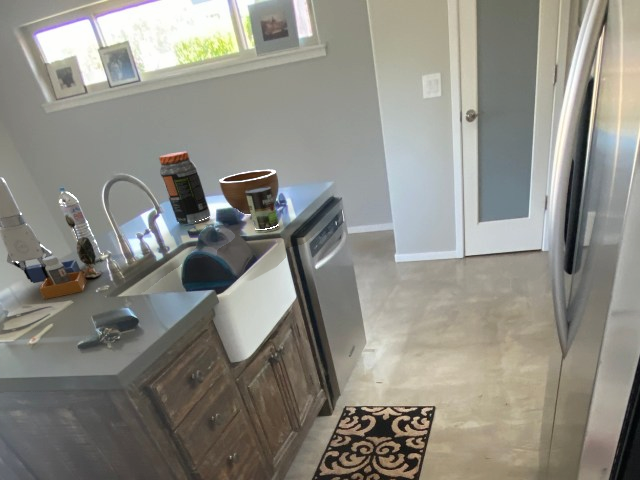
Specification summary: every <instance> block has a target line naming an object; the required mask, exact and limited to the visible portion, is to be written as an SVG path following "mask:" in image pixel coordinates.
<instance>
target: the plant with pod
mask: <svg viewBox="0 0 640 480" xmlns="http://www.w3.org/2000/svg"><path fill="white" fill-rule="evenodd" d="M65 217H66V219H65V221H66V224H67V225H68V227H69V226H70V227H71V229H72V227H73V229H74V231H75V228H74V226H75V222H74V220H73V218H72V217H71V216H69V215H66V216H65ZM65 217H64V218H65ZM75 233H76V231H75ZM76 236H77V233H76ZM77 239H78V236H77ZM76 254H77V257H78V258H79V260H80V262H82V263H83V264H86V267H87V268H86V269H82V270H81V271H82V273H83V275H84V277H85V278H96V277H99V276H100V275H102V274H103V271H102V270H99V271H96V270H95V268H94V266H96V262H95V258H96V256H95V252H94V249H93V246H92V244H91V242H90V240H89V239H88V238H87V237H80V239H78V241H77V243H76Z"/></svg>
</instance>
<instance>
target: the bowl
mask: <svg viewBox="0 0 640 480" xmlns="http://www.w3.org/2000/svg"><path fill="white" fill-rule="evenodd" d="M219 185H220V186H219V187H220V190H221V192H222V195H223V197H224V199H225V200H226V202H227V203H228V205H230V206H231V208H232V209H234V208H236V209H238V210H239V211H240V212H242V213H244V214H251V212H250V208H249V204H248V200H247V196H246V193H245V192H246V191H247V190H250V189H254V188H259V187H271V189H272V195H273V200H274V204H275V203H276V201H277V198H278V196H279V187H280V186H279V178H278V174H277V171H276V170H274V169H261V170H260V169H258V170H252V171H245V172H240V173H236V174H232V175H228V176H225V177H223V178H221V179H219ZM240 212H239V213H240ZM242 213H241V214H242ZM244 214H243V215H244Z"/></svg>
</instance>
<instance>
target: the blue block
mask: <svg viewBox="0 0 640 480" xmlns="http://www.w3.org/2000/svg"><path fill="white" fill-rule="evenodd" d="M26 270H27V272H28V274H29V276H30V278H31V280H32V282H31V283H33V284H37V283H38V284H39V283H43V281H44V280H45V278H46V276H45V274H44V272H43V270H42V266H41V264H40V263H38V264H33V265H28V266H27V269H26Z"/></svg>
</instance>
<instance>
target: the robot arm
mask: <svg viewBox="0 0 640 480" xmlns="http://www.w3.org/2000/svg"><path fill="white" fill-rule="evenodd" d="M0 237H1V240H2V242H3V244H4V247H5V249H6V251H7V257H6V262H7V263H8V264H10V265H12V266H15V267H17V268H18V269H20V270H21V271H23V273H24V274H25V277H26V278H27V280H29V281H30V283H33V282H32V280H31V278H30V276H29V274H28V272H27V270H26V269H27V268H28V266H27V262H28V261H31V260H37V261H38V263H39V264H41V266H42V270H43V272H44V274H45V276H46V278H49V275H48V273H47V271H46V269H45V267H46V265H45V264H44V263H43V261H42V259H44V258H46V257H50V256H53V252H52V251H51V250H50V249H48V248H47V247H45V246H43V245H42V242H41V241H40V239H39V238H38V236H37V234H36V232H35V231H34V229H33V228H32V227H31V225H30V224H29V223H27V222H26V220H25V218H24V216H23V213H22V212H21V210H20V208H19V206H18V204H17V202H16V199H15V198H14V195H13V193H12V192H11V189H10V187H9V185H8V183H7V182H6V180H5V179H4V178H3V177H1V176H0ZM44 255H45V256H44ZM26 261H27V262H26Z"/></svg>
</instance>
